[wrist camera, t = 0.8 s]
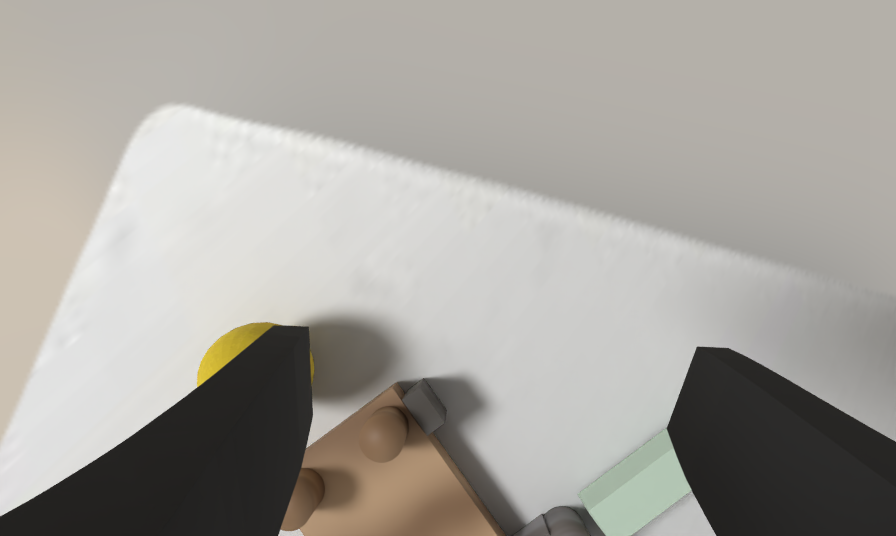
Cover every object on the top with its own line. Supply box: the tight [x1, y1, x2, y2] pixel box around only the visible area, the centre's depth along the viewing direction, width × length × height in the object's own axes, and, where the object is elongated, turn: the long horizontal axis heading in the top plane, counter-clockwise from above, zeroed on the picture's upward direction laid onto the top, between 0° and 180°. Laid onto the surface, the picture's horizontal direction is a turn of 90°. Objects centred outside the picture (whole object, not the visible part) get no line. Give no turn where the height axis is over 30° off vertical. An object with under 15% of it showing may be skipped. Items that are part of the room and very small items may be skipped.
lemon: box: [197, 322, 314, 387], centre depth 27 cm, size 6×6×8 cm
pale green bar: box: [578, 428, 691, 536], centre depth 28 cm, size 9×2×2 cm, turn 126°
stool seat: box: [281, 378, 590, 536], centre depth 28 cm, size 16×13×4 cm
